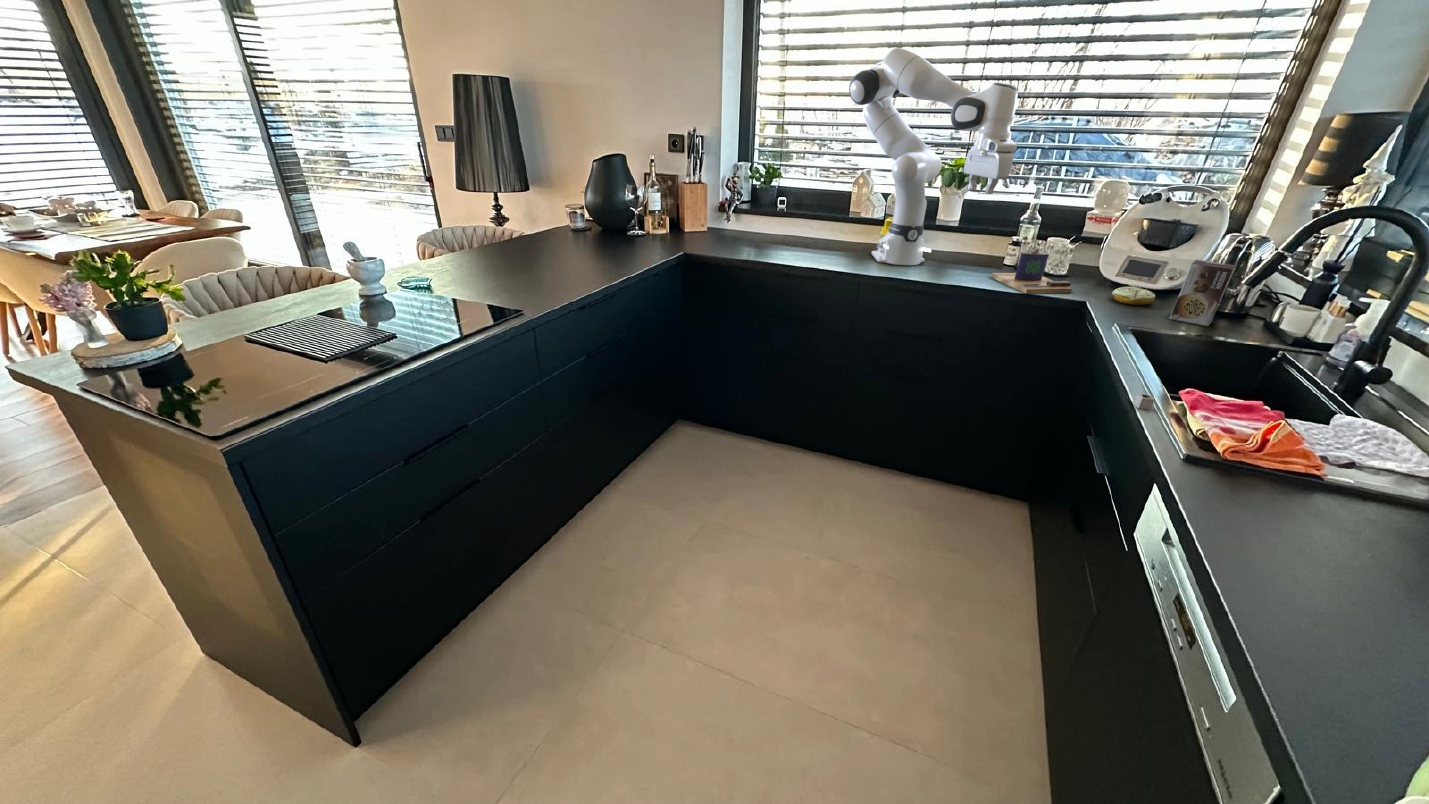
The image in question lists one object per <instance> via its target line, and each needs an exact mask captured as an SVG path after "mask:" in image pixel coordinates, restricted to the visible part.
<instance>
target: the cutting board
mask: <svg viewBox="0 0 1429 804" xmlns="http://www.w3.org/2000/svg"><path fill="white" fill-rule="evenodd" d="M1015 275H1016V272H992V273H991V276H990V278H991V279H994V280H996V281H998V282H1000V283H1002V284H1004V285H1006V286H1008V287H1011V288H1013V289H1015V290H1017V291H1019V292H1021V293H1023V294H1026V295H1027V294H1029V295H1030V294H1071V293H1072V291H1073V288H1072V287H1071V286H1056V287H1050V286H1045V287H1024V286H1022V284H1047V281H1054V280H1053V279H1050V278H1048V277H1046V276H1044V275H1043V276H1042V279H1041V280H1039V281H1037V280H1036V281H1032V280H1030V281H1025V280H1015Z"/></svg>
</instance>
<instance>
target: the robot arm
mask: <svg viewBox="0 0 1429 804" xmlns="http://www.w3.org/2000/svg"><path fill="white" fill-rule="evenodd" d="M848 91H849V96H850V99H851V101H852V102H853V103H854V104H856V105H857V106H864V107H863V109H862V118H863V121H864V123H865V125H866V126H867V128H868V130H869V132H870V133H871V135H872V136H873V138H874V139H875V141H876V142H877V143H878V145H879V146H880V148H881V149H882V150H883V152H884V153H885V154H886V155H887V156H889V157H890V158H891V159H892V160H894V162H893V164H892V167H891V175H892V179H893V180H894V189H895V191H894V192H895V203H894V209H893V210H894V211H893V217H892V221H891V222H890V225H889V227H888V232H887V233H886V234H885V235H884V236H883V237H881V238H880V240H879V241H878V242H876V248H877V250H872V251H871V255H872V256H873V258H874V259H875V260H876V261H877V262H878V263H885V264H889V265H890V264H891V265H897V266H917V265H920V264H921V263H924V262H925V260H926V259H925V258H924V257H923V254H924V253H923V252H926V253H927V252H928V253H931V252H932V249H931V248H927V247H924V244H925V240H924V238H923V236H922V235H923V234H924V230H925V228H924V226H925V225H924V222H925V216H926V210H927V205H928V201H927V199H926V184H927V183H929V182H931V181H933V180H934V179H935V178H936V177H937V176H939V174H940V172H941V171H942V159H941V157H940V156H939V155H938V154H937V153H935V152H934V151H933V150H932V149H931V148H930V147H929V146H928V145H927V144H926V143H925V142H924V141H923V139H921V138H920V137H919V136H918V135H917V134H916V133H915V132H914V131H913V130H912V129H911V127H910V126H909V125H908V123H907V122H906V120H905V119H904V118H903V116H902V115H901V114H900V112H899V111H898V110H897V108H896V107H895V105H894V103H893V99H895V98H897V97H898V96H899V95H900V93H901V94H903V95H904V96H907V97H910V98H912V99H916V100H920V101H931V102H937V103H942V104H945V105H947V106H949V107H950V108H952V110H951V112H950V122H951V125H952V126H953V127H954V128H955V129H957V130H958V131H963V132H977V137H976V141H975V143H974V144H972V146H971V148H970V150H968V152H967V155H966V159H965V162H964V166H963V173H964V174H966V175H969V177H968V180H969V181H968V182H969V188H968V189H969V191H976V190H977V189H978V184H977V179H978V177H983V178H988V179H989V181H988V182H989V184H988V185H987V187H985V191H984V193H985V194H986V195H993V193H994V190H995V188H996V186H997V185H998V184H999V180H1007V179H1008V177H1009V176H1010V173H1011V170H1012V166H1013V163H1014V153H1016V151H1017V148H1018V144H1017V143H1016V142H1014V141H1013V140H1012V139H1011V138H1010V135H1011V134H1010V133H1011V125H1012V123H1013V120H1014V118H1015V113H1016V109H1017V104H1018V97H1019V96H1018V95H1019V92H1018V88H1017V86H1015V85H1012V84H1008V83H1003V82H994V83H990V85H989V86H987V87H986V88H984V89H982V90H981V91H978V92H976V93H974V92H973V91H971V90H969V89H968V88H966V87H964V86H962V85H961V84H959V83H957V82H956V81H954V80H952V79H951V78H950V77H949V76H947V75H946V74H945V73H944V72H942V70H940V69H938V67H936V66H935V65H934V64H932V63H931V62H929V61H928V60H927V59H925V58H924V57H922V56H921V55H919V54H918V53H916V52H913V51H911V50H908V49H906V48H902V47H894V48H893V49H891V50H890V51H889V52H888V53H886V55H885V56H884V58H883V60H882V61H880V62H877V63H874V64H873V65H871V66H869V67H867V68H866V69H864V70H861V71H859V72H857V73H856V74H855V75H853V77H852V78H851V80H850V82H849V86H848Z"/></svg>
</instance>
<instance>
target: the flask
mask: <svg viewBox="0 0 1429 804" xmlns="http://www.w3.org/2000/svg"><path fill="white" fill-rule="evenodd" d="M1049 256H1050V254H1049V253H1048V252H1040V248H1039V247H1035V249H1034V250H1032V251H1031V250H1030V251H1028V250H1026V251H1022V252H1021V253H1020V256H1019V260H1018V263H1017V267H1016V270H1015V273H1016V275H1015V280H1025V281H1030V280H1032V281H1036V280H1037V281H1039V280H1041V279H1042V276H1043V277H1044V273H1045V270H1046V267H1047V264H1048V263H1047V262H1048V258H1049Z"/></svg>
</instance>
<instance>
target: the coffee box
mask: <svg viewBox="0 0 1429 804" xmlns="http://www.w3.org/2000/svg"><path fill="white" fill-rule="evenodd" d="M1189 266H1190V267H1189V269H1188V271H1187V275H1186V277H1185V279H1184V281H1183V284H1182V286H1181V290H1180V292H1179V294H1178V296H1177V299H1176V301H1175V303H1174V306H1173V309H1172V310H1171V314H1170V316H1169V318H1168V319H1169V320H1174V321H1178V322H1185V323H1189V324H1195V325H1200V326H1204V327H1209V326H1210V325H1211V323H1212V321H1213V319H1214V317H1215V315H1216V312H1217V310H1218V308H1219V306H1220V302H1221V301H1222V299H1223V296H1224V294H1225V291H1226V289H1227V287H1228V285H1229V283H1230V280H1231V278H1232V276H1233V273H1234V271H1235V270H1236V267H1237V265H1236V264H1230V263H1229V264H1228V263H1223V262H1215V261H1208V260H1202V259H1201V260H1200V259H1195V260H1193V262H1192V263H1191V264H1190V265H1189Z"/></svg>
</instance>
